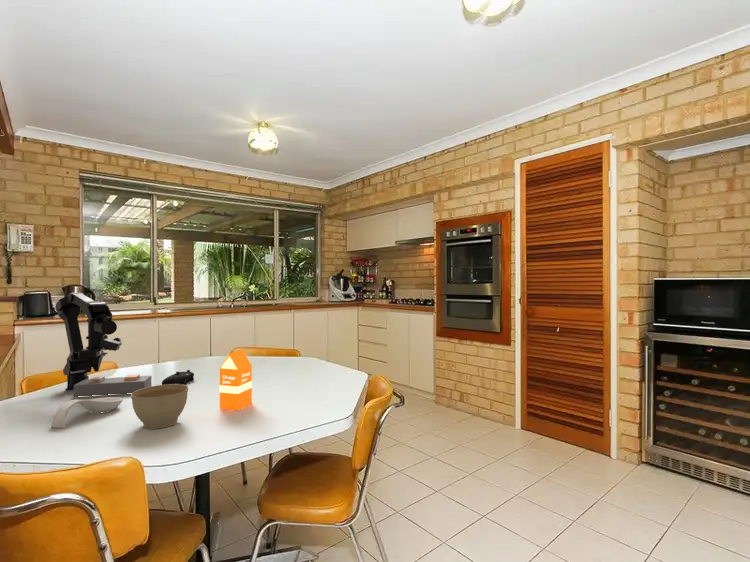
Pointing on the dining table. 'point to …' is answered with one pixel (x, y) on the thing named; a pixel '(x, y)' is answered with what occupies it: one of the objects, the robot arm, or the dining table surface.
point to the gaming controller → (178, 378)
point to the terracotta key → (131, 377)
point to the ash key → (96, 379)
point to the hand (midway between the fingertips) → (96, 371)
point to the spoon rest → (90, 405)
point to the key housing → (111, 386)
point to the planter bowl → (159, 404)
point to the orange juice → (235, 381)
